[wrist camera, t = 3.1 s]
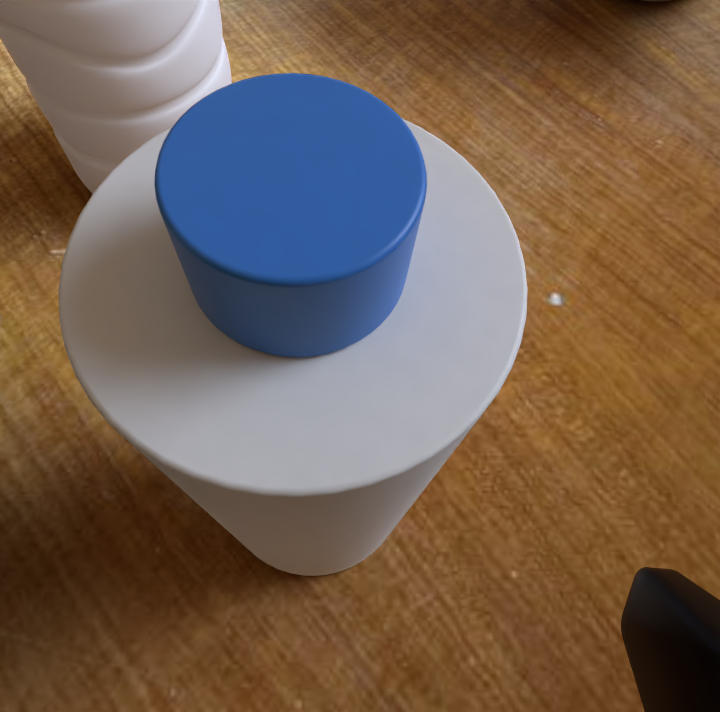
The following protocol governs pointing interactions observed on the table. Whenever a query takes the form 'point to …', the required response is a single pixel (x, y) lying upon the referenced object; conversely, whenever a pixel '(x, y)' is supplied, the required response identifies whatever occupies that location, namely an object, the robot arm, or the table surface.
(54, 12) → the water bottle
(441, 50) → the table surface
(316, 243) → the detergent bottle
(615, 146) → the table surface
